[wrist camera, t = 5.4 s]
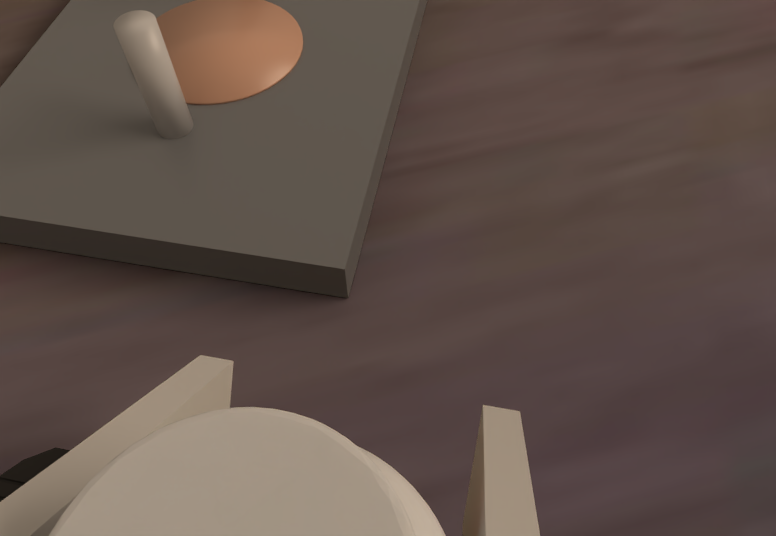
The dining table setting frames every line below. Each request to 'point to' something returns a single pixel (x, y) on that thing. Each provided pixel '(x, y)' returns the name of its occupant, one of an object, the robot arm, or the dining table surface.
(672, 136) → the dining table surface
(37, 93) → the pin tray
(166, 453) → the supplement bottle
